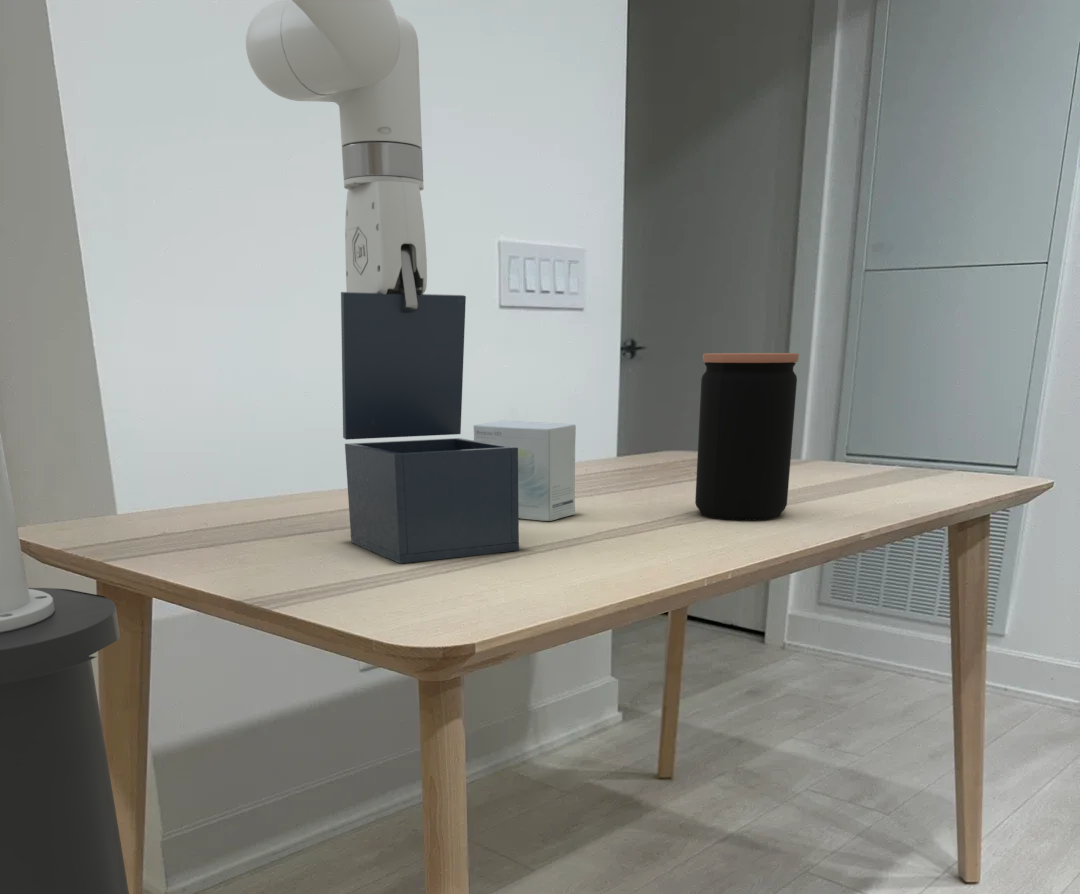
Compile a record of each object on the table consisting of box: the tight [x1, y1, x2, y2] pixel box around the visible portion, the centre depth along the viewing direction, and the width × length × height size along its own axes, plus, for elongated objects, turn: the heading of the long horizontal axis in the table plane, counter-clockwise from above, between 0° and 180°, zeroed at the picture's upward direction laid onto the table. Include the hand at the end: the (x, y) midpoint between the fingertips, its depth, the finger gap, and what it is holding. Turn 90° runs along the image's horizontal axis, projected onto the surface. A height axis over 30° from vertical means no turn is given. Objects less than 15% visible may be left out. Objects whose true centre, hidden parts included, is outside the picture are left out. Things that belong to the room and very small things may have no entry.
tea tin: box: [344, 437, 520, 565], centre depth 100 cm, size 13×13×10 cm
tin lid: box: [340, 291, 467, 440], centre depth 100 cm, size 13×13×1 cm
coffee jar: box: [694, 352, 800, 522], centre depth 117 cm, size 11×11×18 cm
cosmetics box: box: [473, 420, 577, 522], centre depth 119 cm, size 10×6×10 cm, turn 58°
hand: (393, 375), depth 102 cm, fingers closed
